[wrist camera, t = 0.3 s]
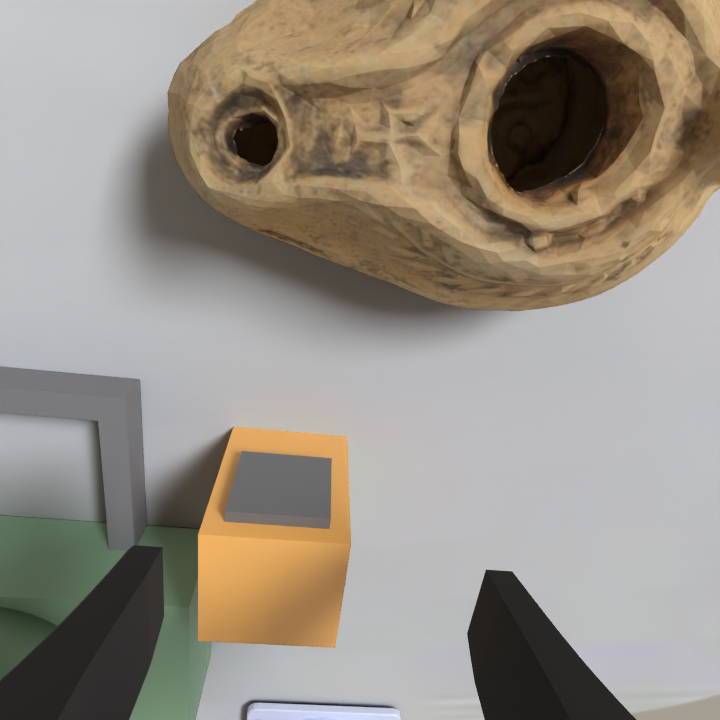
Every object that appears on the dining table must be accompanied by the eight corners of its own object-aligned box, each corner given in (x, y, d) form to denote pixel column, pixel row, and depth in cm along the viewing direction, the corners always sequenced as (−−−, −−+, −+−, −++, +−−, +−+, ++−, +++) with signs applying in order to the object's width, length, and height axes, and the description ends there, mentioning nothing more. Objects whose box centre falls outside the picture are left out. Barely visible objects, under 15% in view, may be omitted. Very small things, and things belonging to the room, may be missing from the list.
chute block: (335, 523, 23) (335, 647, 18) (230, 516, 23) (198, 640, 18) (348, 427, 21) (352, 534, 16) (233, 417, 21) (198, 523, 16)
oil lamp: (148, -1, 15) (-22, -106, 8) (680, -178, 14) (1045, -488, 7) (275, 341, 20) (240, 472, 12) (687, 227, 19) (912, 299, 11)
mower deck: (210, 656, 26) (177, 796, 21) (-94, 641, 25) (-212, 787, 20) (214, 386, 20) (170, 485, 15) (-186, 349, 19) (-394, 443, 14)
